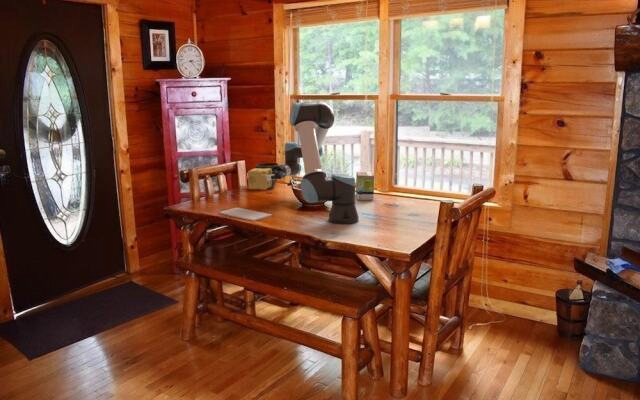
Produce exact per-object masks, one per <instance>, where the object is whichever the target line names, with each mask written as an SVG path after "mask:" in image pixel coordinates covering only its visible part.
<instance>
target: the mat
mask: <svg viewBox="0 0 640 400" xmlns="http://www.w3.org/2000/svg"><path fill="white" fill-rule="evenodd" d="M219 213H220V214H221V215H224V216H229V217H234V218H238V219H242V220H246V221H251V222H257V221H259V220H263V219H266V218H270V217H272V213H268V212H267V213H266V212H262V211H257V210H251V209H249V208H248V209H247V208H243V207H234V208H230V209H226V210H222V211H219V212H218V214H219Z"/></svg>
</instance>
